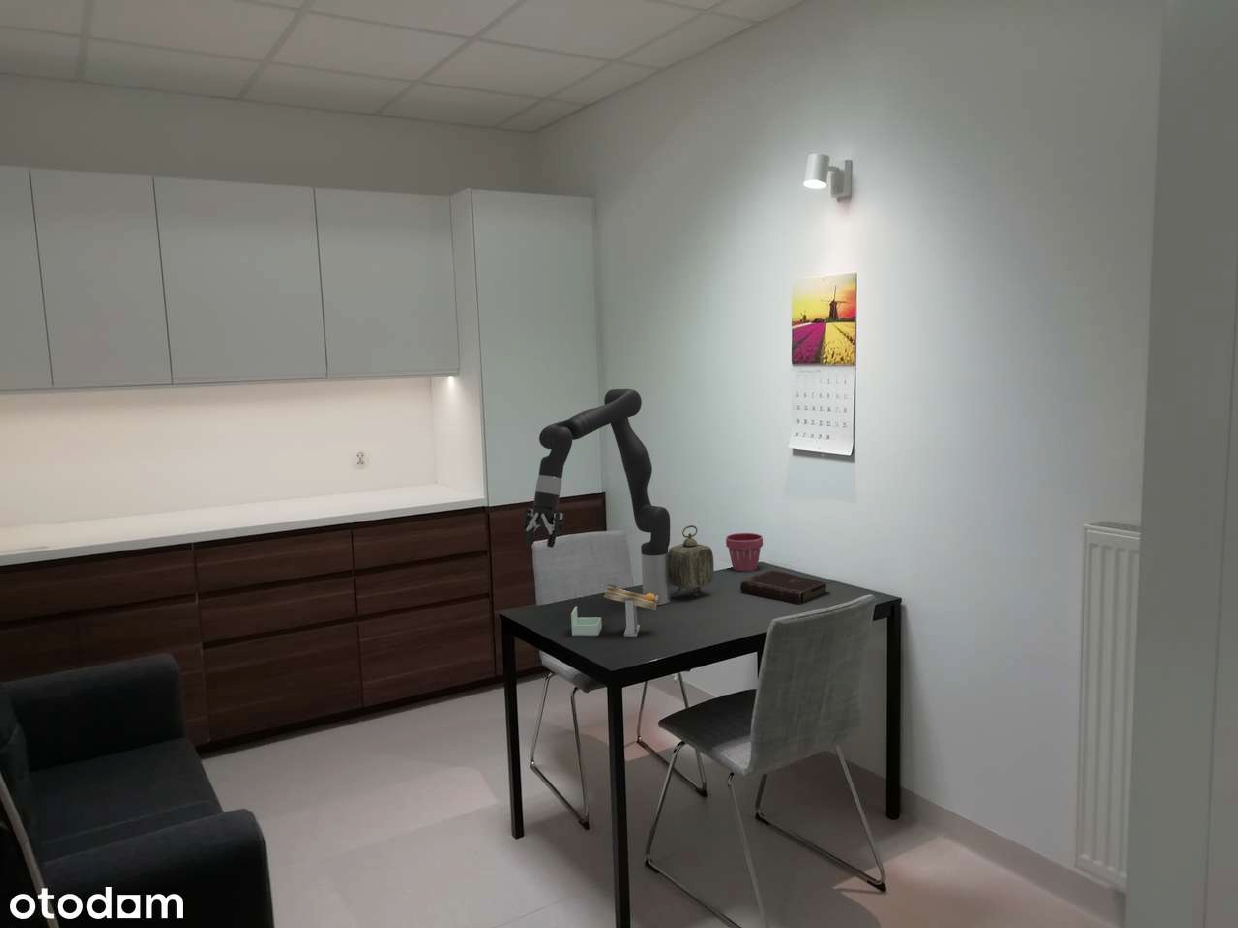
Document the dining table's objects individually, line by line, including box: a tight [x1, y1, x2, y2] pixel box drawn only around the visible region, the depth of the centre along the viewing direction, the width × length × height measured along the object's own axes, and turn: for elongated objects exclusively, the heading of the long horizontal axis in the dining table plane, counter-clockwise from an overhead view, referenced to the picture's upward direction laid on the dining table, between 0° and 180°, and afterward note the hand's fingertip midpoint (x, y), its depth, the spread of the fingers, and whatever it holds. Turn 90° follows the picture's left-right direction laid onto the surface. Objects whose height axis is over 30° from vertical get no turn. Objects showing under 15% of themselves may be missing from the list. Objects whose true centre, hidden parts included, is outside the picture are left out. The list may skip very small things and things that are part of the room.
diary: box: [739, 570, 831, 606], centre depth 310 cm, size 19×25×5 cm
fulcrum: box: [623, 600, 641, 638], centre depth 274 cm, size 4×9×11 cm, turn 173°
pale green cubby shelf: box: [570, 606, 603, 637], centre depth 276 cm, size 8×8×7 cm
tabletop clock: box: [668, 524, 715, 598], centre depth 310 cm, size 14×9×25 cm, turn 128°
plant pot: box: [725, 532, 764, 573], centre depth 346 cm, size 14×14×13 cm
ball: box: [645, 593, 655, 602], centre depth 272 cm, size 3×3×3 cm
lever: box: [603, 583, 659, 611], centre depth 276 cm, size 16×12×3 cm
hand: (539, 545), depth 266 cm, fingers open, 8 cm apart
